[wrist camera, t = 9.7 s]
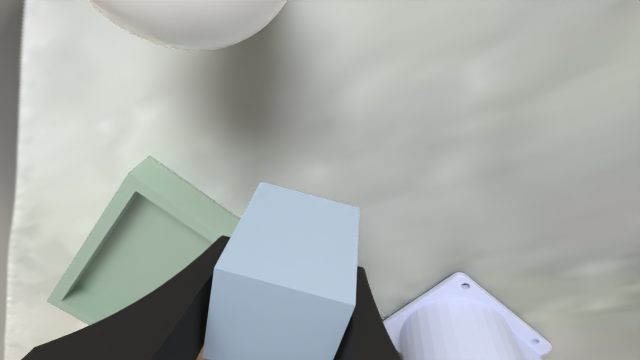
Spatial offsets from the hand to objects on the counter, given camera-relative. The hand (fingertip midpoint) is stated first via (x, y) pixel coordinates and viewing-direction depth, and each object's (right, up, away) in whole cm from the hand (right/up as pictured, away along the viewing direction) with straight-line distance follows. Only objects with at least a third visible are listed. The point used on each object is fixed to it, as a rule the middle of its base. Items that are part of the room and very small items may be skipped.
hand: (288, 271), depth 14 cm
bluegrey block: (0, +1, +2) cm, 2 cm away
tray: (-7, -4, +13) cm, 15 cm away
